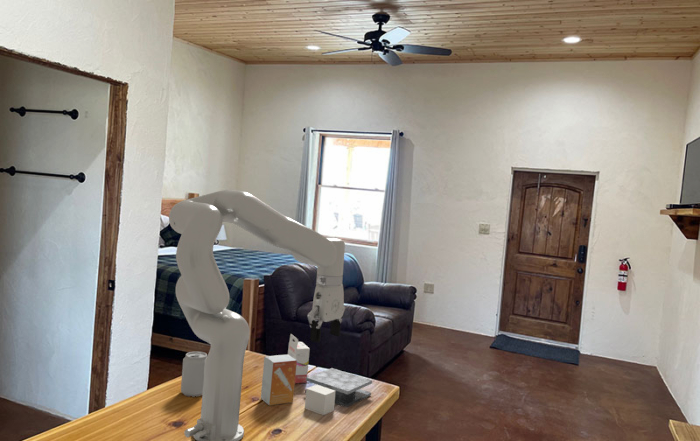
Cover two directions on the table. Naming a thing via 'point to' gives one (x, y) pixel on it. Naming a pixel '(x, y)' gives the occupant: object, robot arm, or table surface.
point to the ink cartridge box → (299, 358)
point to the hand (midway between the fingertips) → (325, 338)
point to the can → (193, 374)
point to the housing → (320, 399)
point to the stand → (342, 385)
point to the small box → (278, 379)
